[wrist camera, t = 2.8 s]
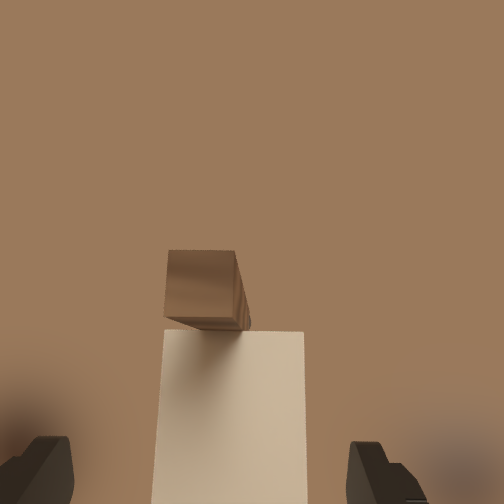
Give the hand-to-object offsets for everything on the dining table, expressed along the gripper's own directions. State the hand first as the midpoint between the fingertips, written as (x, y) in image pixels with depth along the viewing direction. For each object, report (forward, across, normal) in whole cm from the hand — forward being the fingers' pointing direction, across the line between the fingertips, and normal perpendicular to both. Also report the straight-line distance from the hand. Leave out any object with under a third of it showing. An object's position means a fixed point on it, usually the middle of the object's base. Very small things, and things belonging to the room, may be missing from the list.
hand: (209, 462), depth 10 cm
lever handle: (+17, +1, +5) cm, 18 cm away
